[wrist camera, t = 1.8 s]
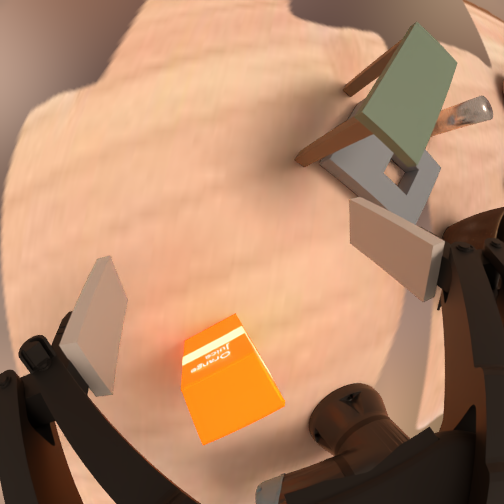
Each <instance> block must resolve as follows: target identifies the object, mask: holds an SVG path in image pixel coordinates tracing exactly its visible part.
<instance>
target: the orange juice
mask: <svg viewBox="0 0 504 504" xmlns="http://www.w3.org/2000/svg"><path fill="white" fill-rule="evenodd" d="M182 366H183V367H182V381H181V391H182V393H183V396H184V398H185V401H186V404H187V406H188V409H189V412H190V414H191V417H192V420H193V422H194V425H195V427H196V430H197V432H198V435H199V437H200V439H201V442H202V444H203V445H205V444H207V443H210V442H212V441H215V440H217V439H219V438H222V437H224V436H226V435H228V434H230V433H233V432H235V431H237V430H239V429H241V428H243V427H245V426H247V425H250V424H252V423H254V422H256V421H258V420H260V419H262V418H263V417H265V416H267V415H269V414H271V413H273V412H275V411H277V410H279V409H280V408H282V407H284V406H285V400H284V398H283V397H282V395H281V393H280V391H279V389H278V388H277V386H276V384H275V382H274V380H273V378H272V376H271V374H270V372H269V370H268V369H267V367H266V365H265V364H264V362H263V360H262V358H261V356H260V354H259V352H258V351H257V349H256V347H255V346H254V344H253V342H252V341H251V339H250V337H249V336H248V334H247V332H246V331H245V329H244V327H243V325H242V324H241V322H240V320H239V319H238V317H237V315H236V313H235V314H234V315H232V316H230V317H228V318H226V319H224V320H223V321H221V322H219V323H217V324H215V325H213V326H212V327H210V328H208V329H206V330H204V331H202V332H200V333H199V334H197V335H195V336H193V337H191V338H189V339H187V340H185V344H184V355H183V362H182ZM203 445H202V446H203Z"/></svg>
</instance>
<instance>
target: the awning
mask: <svg viewBox="0 0 504 504" xmlns="http://www.w3.org/2000/svg"><path fill="white" fill-rule="evenodd" d="M456 66H457V62H456V61H455V60H454V58H453V57H452V56H451V55H450V54H449V53H448V52H447V51H446V50H445V49H444V48H443V47H442V46H441V45H440V43H439V42H438V41H437V40H436V39H435V38H434V37H432V35H430V34H429V33H428V32H427V31H426V30H425V29H424V28H423V27H422V26H421V25H420V24H419V23H418V22H416V23H414V24H413V25H412V26H410V28H409V29H408V31H407V33H406V34H405V36H404V37H403V39H402V40H400V41H399V42H398V43H397V44H395V45H394V46H393V47H391V48H390V49H389V50H388V51H386V52H385V53H384V54H383V55H381V56H380V57H379V58H378V59H376V60H375V61H374V62H373V63H372V64H370V65H369V66H368V67H367V68H365V69H364V70H363V71H362V72H361V73H359V74H358V75H357V76H356V77H355V78H353V79H352V80H351V81H350V82H349V83H348V84H347V85H346V86H345V88H344V89H343V91H344V92H346V93H347V94H348V95H349V96H350V97H352V96H353V95H354V94H356V93H357V92H358V91H360V90H361V89H362V88H364V87H365V86H366V85H368V84H369V83H370V82H372V81H373V80H375V79H376V78H377V77H379V78H378V79H377V81H376V83H375V84H374V86H373V87H372V89H371V91H370V92H369V94H368V95H367V97H366V99H365V100H364V102H363V103H362V105H361V106H360V108H359V110H358V111H357V113H356V114H355V116H353V117H352V118H350V119H349V120H347V121H345V122H344V123H342V124H341V125H339V126H338V127H336V128H334V129H333V130H331V131H330V132H328V133H327V134H325V135H324V136H322V137H321V138H319V139H318V140H316V141H315V142H313V143H312V144H310V145H309V146H307V147H306V148H304V149H303V150H301V151H300V153H299V154H298V155H297V157H296V158H295V161H296V162H298V163H299V164H301V165H302V166H303V167H306V166H308V165H310V164H312V163H314V162H316V161H318V160H320V159H322V158H324V157H326V156H328V155H330V154H332V153H334V152H336V151H338V150H340V149H343V148H345V147H347V146H349V145H351V144H353V143H355V142H357V141H360V140H362V139H364V138H366V137H368V136H371V135H373V134H374V135H375V136H376V137H377V138H378V139H379V140H380V141H381V142H383V143H384V144H385V145H386V146H387V147H388V148H389V149H390V150H391V151H392V152H393V153H394V154H395V155H396V156H397V157H398V158H399V159H400V160H401V161H402V162H403V163H404V164H405V165H406V166H407V167H412V166H416V165H418V163H419V161H420V159H421V157H422V155H423V152H424V150H425V148H426V146H427V143H428V141H429V139H430V136H431V134H432V131H433V129H434V127H435V124H436V122H437V119H438V117H439V114H440V111H441V109H442V106H443V103H444V101H445V98H446V95H447V92H448V90H449V87H450V84H451V81H452V78H453V75H454V72H455V69H456Z"/></svg>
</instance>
